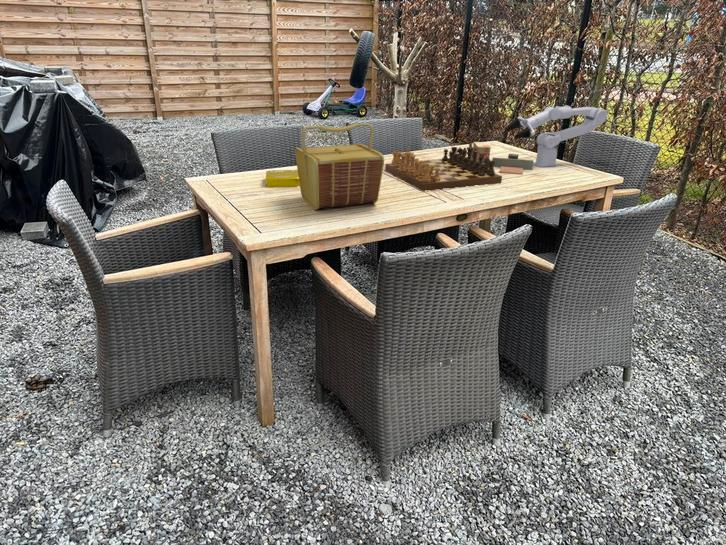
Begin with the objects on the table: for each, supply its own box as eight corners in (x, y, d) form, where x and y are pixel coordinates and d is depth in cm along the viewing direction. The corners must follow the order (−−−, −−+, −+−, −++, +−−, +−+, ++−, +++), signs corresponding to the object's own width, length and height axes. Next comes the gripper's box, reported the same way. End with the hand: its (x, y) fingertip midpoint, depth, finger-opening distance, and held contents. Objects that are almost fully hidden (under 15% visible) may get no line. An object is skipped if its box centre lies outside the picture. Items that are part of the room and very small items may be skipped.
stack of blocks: (468, 161, 273) (470, 138, 268) (479, 162, 273) (482, 138, 268) (475, 171, 254) (477, 146, 248) (487, 171, 254) (490, 146, 248)
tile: (522, 169, 258) (523, 167, 258) (522, 174, 249) (522, 173, 248) (500, 167, 261) (500, 166, 261) (499, 172, 252) (499, 171, 251)
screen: (532, 169, 259) (533, 160, 257) (532, 169, 258) (533, 161, 256) (491, 166, 264) (492, 157, 262) (491, 166, 263) (492, 157, 261)
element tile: (266, 188, 222) (265, 177, 220) (266, 179, 236) (266, 169, 234) (300, 187, 224) (300, 176, 222) (299, 178, 238) (299, 168, 236)
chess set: (423, 192, 220) (425, 158, 214) (385, 171, 254) (386, 140, 248) (501, 184, 234) (505, 151, 228) (454, 164, 268) (457, 136, 262)
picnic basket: (314, 215, 189) (311, 132, 176) (294, 196, 210) (290, 121, 197) (385, 207, 199) (388, 128, 187) (359, 189, 221) (360, 117, 208)
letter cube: (517, 163, 270) (518, 154, 268) (516, 166, 266) (518, 156, 264) (507, 163, 271) (508, 153, 269) (507, 165, 267) (508, 155, 265)
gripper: (527, 107, 259) (502, 119, 259) (543, 122, 250) (517, 134, 250) (527, 118, 264) (503, 130, 264) (543, 133, 255) (518, 145, 255)
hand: (510, 133), depth 257 cm, fingers open, 7 cm apart
